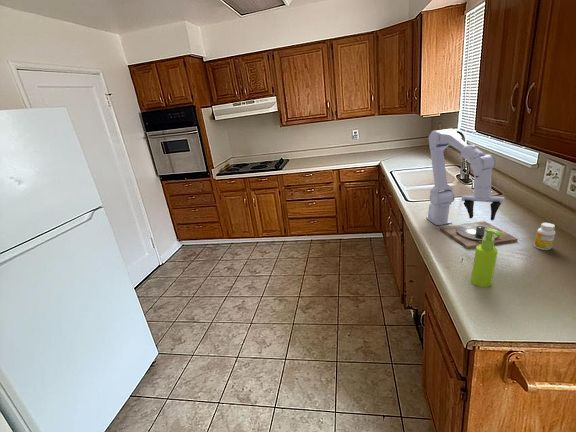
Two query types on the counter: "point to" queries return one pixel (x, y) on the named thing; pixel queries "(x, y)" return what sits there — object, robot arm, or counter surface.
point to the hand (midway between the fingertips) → (481, 218)
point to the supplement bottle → (545, 236)
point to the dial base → (474, 243)
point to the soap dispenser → (485, 259)
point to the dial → (474, 231)
